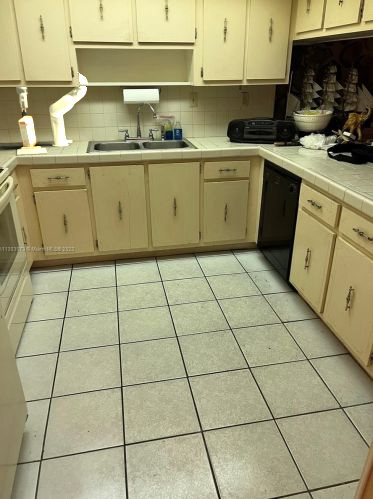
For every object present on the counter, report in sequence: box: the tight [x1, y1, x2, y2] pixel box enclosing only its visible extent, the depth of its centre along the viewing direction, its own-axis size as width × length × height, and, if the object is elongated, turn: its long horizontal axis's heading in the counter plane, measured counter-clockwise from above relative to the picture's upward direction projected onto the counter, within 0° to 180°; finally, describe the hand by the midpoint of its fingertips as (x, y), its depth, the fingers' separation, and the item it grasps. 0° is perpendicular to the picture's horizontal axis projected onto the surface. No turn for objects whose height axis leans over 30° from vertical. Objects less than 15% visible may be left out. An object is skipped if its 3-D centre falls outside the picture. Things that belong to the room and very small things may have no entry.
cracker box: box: [17, 115, 37, 147], centre depth 280 cm, size 14×6×21 cm, turn 1°
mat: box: [16, 146, 48, 156], centre depth 270 cm, size 20×25×2 cm
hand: (24, 117), depth 282 cm, fingers closed
